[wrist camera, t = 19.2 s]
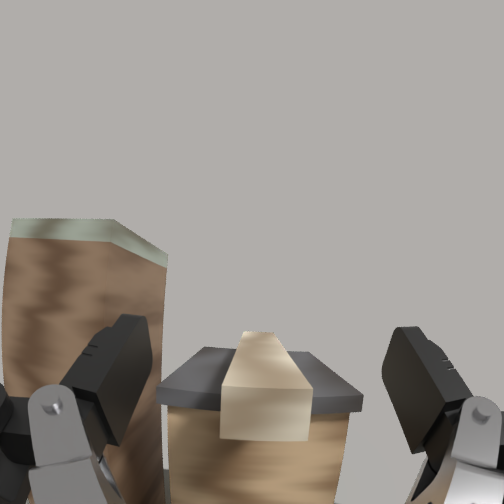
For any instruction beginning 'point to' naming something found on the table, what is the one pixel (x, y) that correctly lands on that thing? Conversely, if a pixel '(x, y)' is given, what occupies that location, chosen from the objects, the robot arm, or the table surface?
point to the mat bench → (247, 451)
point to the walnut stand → (85, 323)
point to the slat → (264, 393)
